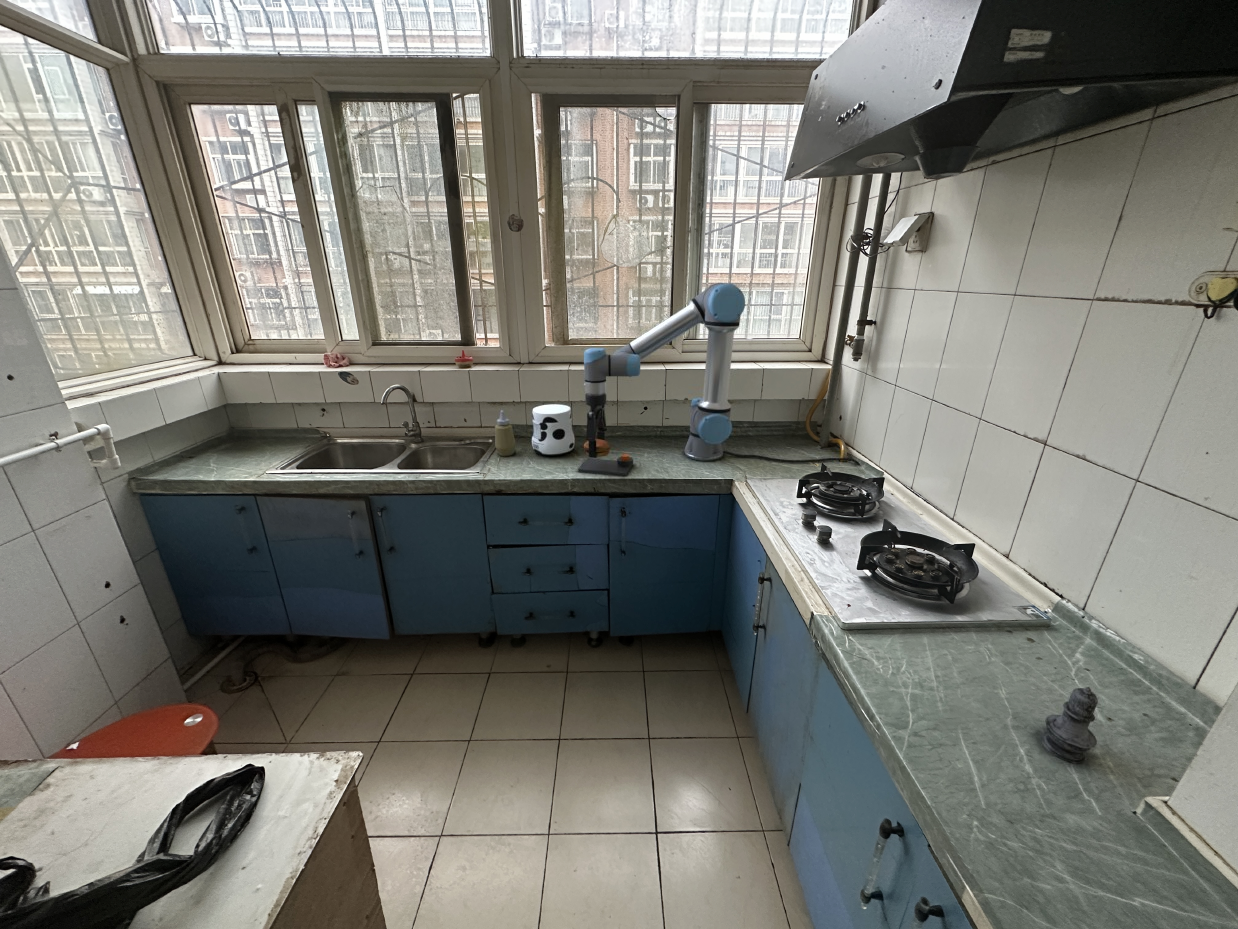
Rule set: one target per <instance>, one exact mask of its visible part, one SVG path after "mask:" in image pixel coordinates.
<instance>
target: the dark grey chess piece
mask: <svg viewBox="0 0 1238 929" xmlns="http://www.w3.org/2000/svg"><path fill="white" fill-rule="evenodd" d="M1098 703H1099V699H1098V697H1097V695H1096V694H1095V693H1093V692H1092V688H1091V687H1090V686H1085V687H1075V688H1074V689H1072V691H1071V694H1070V695H1069V698H1068V700H1067V701H1065V702H1063V703H1062V707H1063V711H1062V714H1050V715H1047V716H1046V717H1045V720H1044V722H1045V727H1046V732H1045V733H1043V734H1042V735H1041V738H1040V740H1041V743H1042V745H1043V746H1044V748H1045V749H1046V751H1048V752H1050V753H1051V754H1052V755H1053V756H1055V757H1057V758H1058V759H1059V760H1062V761H1064V762H1067V763H1070V764H1076V765H1078V764H1079V765H1080V764H1084V763H1085V762H1086V761H1087V754H1086V752H1088V751H1090V750H1091V749H1092V748H1095V747H1096V746H1097V744H1098V740H1097V738H1096V735H1095V734H1094V733H1093V732H1092V730H1090V729H1089V726H1090V724H1091V723H1093V722H1095V720H1096V716H1095V714H1094V713H1095V710H1096V708H1097V706H1098Z"/></svg>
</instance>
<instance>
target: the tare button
mask: <svg viewBox="0 0 1238 929" xmlns="http://www.w3.org/2000/svg"><path fill="white" fill-rule="evenodd" d="M620 457H621V460H623V461H627V460H629V457H630V454H627V453H623V454H621V456H620Z"/></svg>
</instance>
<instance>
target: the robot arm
mask: <svg viewBox="0 0 1238 929" xmlns="http://www.w3.org/2000/svg"><path fill="white" fill-rule="evenodd" d="M745 308H746V298H745V295H744V293H743V291H742V289H740V287H738V286H737V285H735V284H733V283H730V282H715V283H713V284H711V285H709V286H707V288H705V289H704V290H702V291H701V292H700V293H699V294H697V295H696V296H695V297H693V298H692V299H690V300H689V302H688V305H687V306H685V307H683V308H682V309H680V310H679V311H676V313H674V314H672V315H670V316H669V317H667V318H666V319H664V320H663V321H662V322H659V323H658V324H657V325H655V326H654V327H652V328H651V329H649V330H648V331H646V332H645V333H643V334H641V335H640V336H638V337H637V338H635V339H633V340H631V342H629V343H627V344H626V345H625V346H623V347H619V348H617V349H616V350H615V351H614V352H613V354H609V353H607V352H606V349H605V348H602V347H590V348H586V349H585V350H584V352H583V353H584V354H583V370H584V371H583V372H584V374H583V375H584V383H583V386H584V391H585V392H584V393H585V395H584V397H585V398H584V402H585V405H586V406H589V407H590V409H589V411H588V412H587V413H586V418H587V419H586V435H585V441H586V442H587V441H588V443H589V455H588V458H593V459H598V457H597V448H596V440H595V439H600V440H604V441H606V440H605V438H606V436H605V434H606V433H605V432H607V430H608V428H607V421H606V419H607V418H606V408H605V407H606V406H605V405H607V377H629V378H631V377H638V376H640V374H641V361H642V360H644V359H646V358H647V357H649V356H650V355H651V354H653V353H655V352H656V351H658V350H660V349H661V348H663V347H665V346H666V345H667V344H669V343H671V342H672V341H673V340H675V339H677V338H678V337H680V336H682V335H683V334H685V333H687V332H688V331H689V330H691V329H693V328H695V327H696V326H697V325H699V324H701V325H704V327H705V328H706V329H707V330H708V333H707V342H706V343H707V344H706V356H705V368H704V381H703V391H702V397H696V398H693V399H692V400H691V402H690V403H691V404H690V422H689V423H690V424H689V436H688V439H687V442H686V445H685V448H684V456H685V457H686V458H688V459H691V460H695V461H701V462H714V461H718V460H720V459H722V458H723V457H724V455H729V456H733V457H736V458H737V457H738V458H755V459H761V460H762V459H763V460H767V461H773V462H778V463H779V462H780V463H791V464H793V463H796V464H797V463H798V464H799V463H801V464H802V463H804V464H805V463H820V462H828V461H836V462H838V461H849V462H852V463H854V464H856V465H857V466H861V463H860V462H859V461H858V460H856V459H855V458H851V457H824V458H813V459H786V458H785V459H784V458H775V457H769V456H764V455H760V454H759V455H758V454H743V453H742V454H741V453H734V452H731V451H726V450H724V448H723V444H722V443H723V442H725V441H726V440H727V439H728V438H729V437H730V436H731V434H732V431H733V425H732V421H731V420H730V419H731V410H732V404H730V403H729V401H728V398H729V396H728V395H729V387H730V378H731V368H732V367H731V366H732V356H733V346H734V337H735V332H736V330H738V329H739V327H740V324H741V316H742V314H743V312H744V311H745Z"/></svg>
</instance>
